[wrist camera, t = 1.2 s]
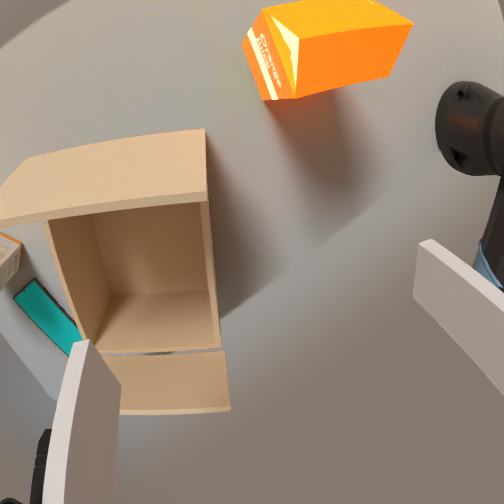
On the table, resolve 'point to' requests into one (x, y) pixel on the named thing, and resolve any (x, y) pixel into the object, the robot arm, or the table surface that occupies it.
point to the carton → (140, 277)
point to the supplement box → (9, 258)
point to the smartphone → (48, 315)
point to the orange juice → (322, 46)
